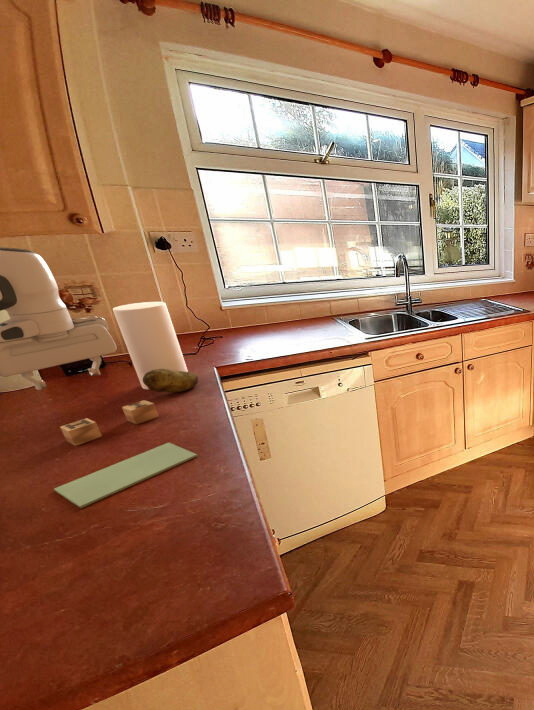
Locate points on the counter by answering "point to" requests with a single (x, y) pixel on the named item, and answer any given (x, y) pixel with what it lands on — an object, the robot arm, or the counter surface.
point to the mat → (123, 474)
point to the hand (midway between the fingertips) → (70, 381)
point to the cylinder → (149, 337)
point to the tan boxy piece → (140, 412)
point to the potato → (169, 380)
